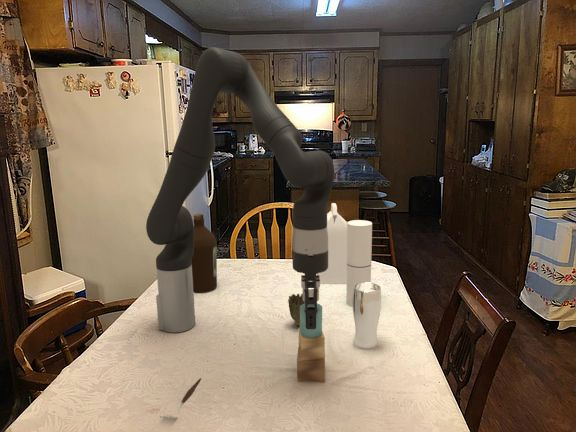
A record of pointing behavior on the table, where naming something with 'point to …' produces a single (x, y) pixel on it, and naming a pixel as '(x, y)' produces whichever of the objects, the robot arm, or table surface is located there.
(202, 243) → the olive oil
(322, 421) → the table surface
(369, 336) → the beer glass
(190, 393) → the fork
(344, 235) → the milk
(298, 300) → the cup
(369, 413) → the table surface
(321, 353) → the top block
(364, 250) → the cylindrical container
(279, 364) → the table surface
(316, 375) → the base block
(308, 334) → the cylinder
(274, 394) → the table surface
